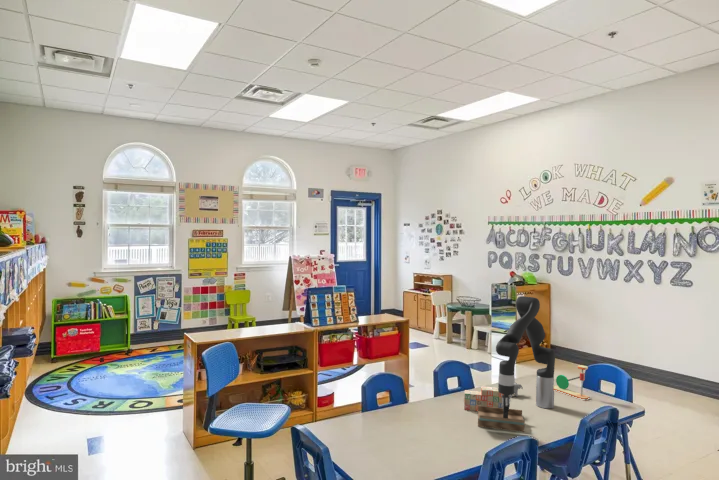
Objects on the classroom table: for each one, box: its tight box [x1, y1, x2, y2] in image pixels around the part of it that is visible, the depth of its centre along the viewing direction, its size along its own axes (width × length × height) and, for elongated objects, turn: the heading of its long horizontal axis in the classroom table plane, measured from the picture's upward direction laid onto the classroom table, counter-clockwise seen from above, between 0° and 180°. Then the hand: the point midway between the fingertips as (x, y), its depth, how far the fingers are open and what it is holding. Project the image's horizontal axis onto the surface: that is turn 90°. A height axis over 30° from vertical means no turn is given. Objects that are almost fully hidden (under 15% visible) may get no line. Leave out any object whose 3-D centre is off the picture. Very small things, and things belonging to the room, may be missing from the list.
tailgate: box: [479, 415, 526, 426], centre depth 228 cm, size 21×1×8 cm
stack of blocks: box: [463, 385, 503, 412], centre depth 258 cm, size 21×6×12 cm, turn 77°
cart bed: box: [477, 406, 525, 433], centre depth 238 cm, size 22×12×6 cm, turn 76°
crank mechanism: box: [554, 364, 591, 399], centre depth 289 cm, size 25×7×19 cm, turn 30°
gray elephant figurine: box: [509, 382, 524, 399], centre depth 284 cm, size 9×12×8 cm
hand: (505, 418), depth 226 cm, fingers closed
